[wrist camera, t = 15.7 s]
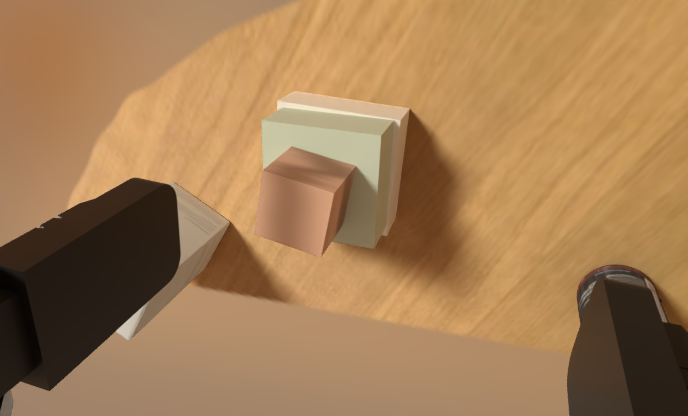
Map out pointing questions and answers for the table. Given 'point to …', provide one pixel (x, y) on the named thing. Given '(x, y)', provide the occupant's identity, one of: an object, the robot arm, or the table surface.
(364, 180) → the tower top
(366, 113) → the tower base
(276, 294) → the table surface
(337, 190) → the terracotta cube
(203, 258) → the supplement box
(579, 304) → the supplement bottle
